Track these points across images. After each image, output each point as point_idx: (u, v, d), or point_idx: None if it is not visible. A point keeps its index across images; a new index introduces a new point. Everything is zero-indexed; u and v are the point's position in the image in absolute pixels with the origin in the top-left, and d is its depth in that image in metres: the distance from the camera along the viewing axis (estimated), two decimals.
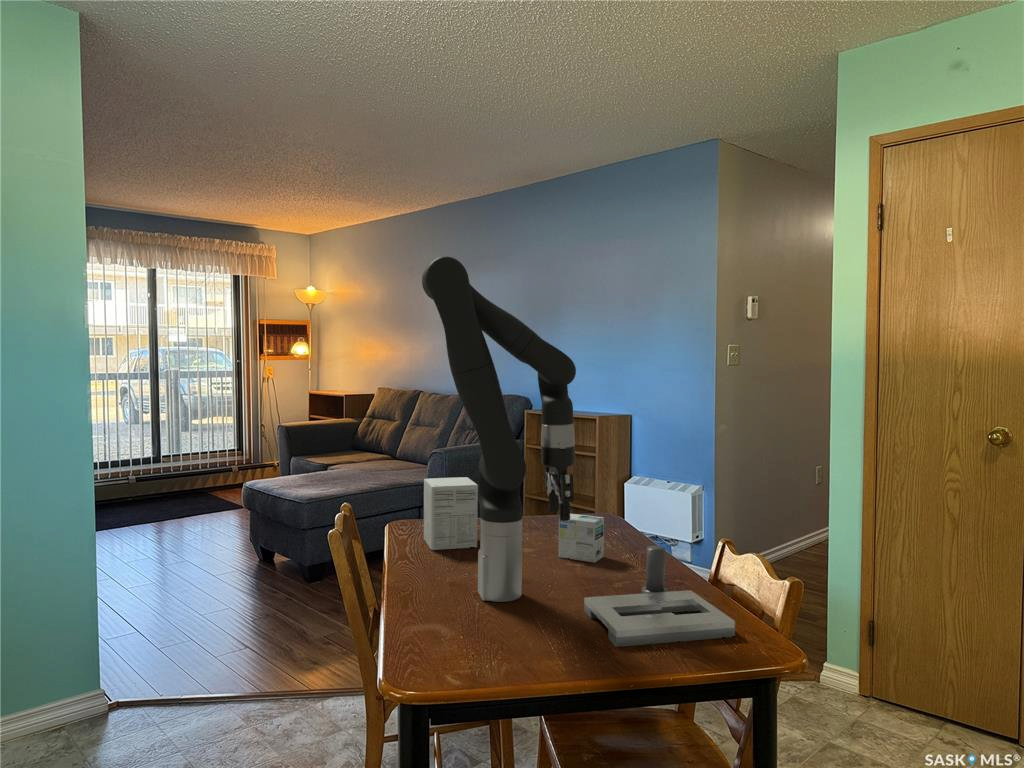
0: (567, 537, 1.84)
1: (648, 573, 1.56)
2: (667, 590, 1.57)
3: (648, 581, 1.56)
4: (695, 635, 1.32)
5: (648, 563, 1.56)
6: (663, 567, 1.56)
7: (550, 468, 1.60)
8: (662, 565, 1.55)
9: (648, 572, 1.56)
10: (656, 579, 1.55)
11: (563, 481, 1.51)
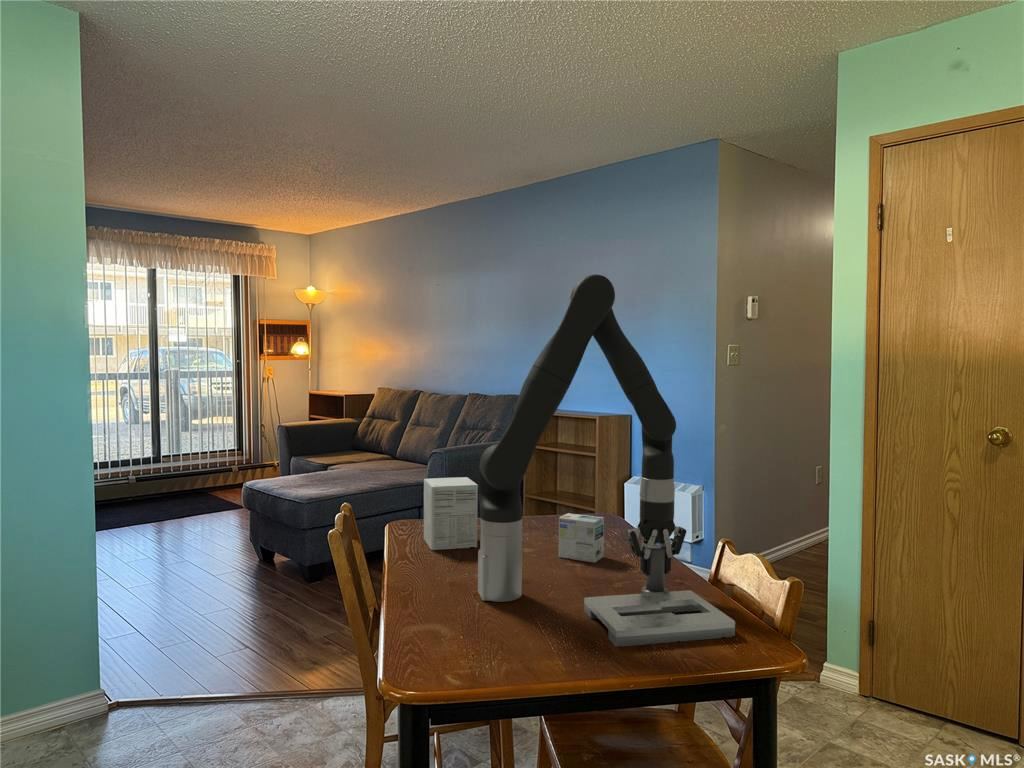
0: (567, 537, 1.84)
1: None
2: (667, 590, 1.57)
3: (648, 581, 1.56)
4: (695, 635, 1.32)
5: None
6: (663, 567, 1.56)
7: (646, 524, 1.55)
8: (662, 565, 1.55)
9: None
10: (656, 579, 1.55)
11: None
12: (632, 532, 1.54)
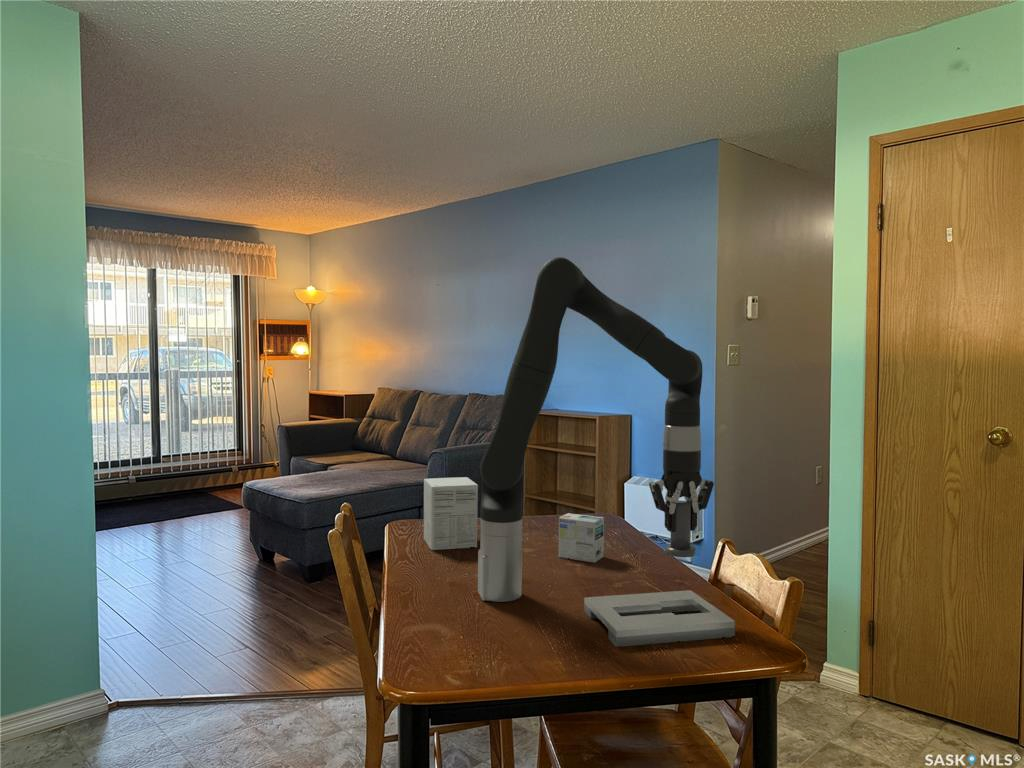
0: (567, 537, 1.84)
1: None
2: (693, 548, 1.44)
3: (673, 538, 1.44)
4: (695, 635, 1.32)
5: None
6: (689, 523, 1.43)
7: (671, 476, 1.42)
8: (688, 520, 1.43)
9: None
10: (682, 536, 1.43)
11: None
12: (656, 484, 1.42)
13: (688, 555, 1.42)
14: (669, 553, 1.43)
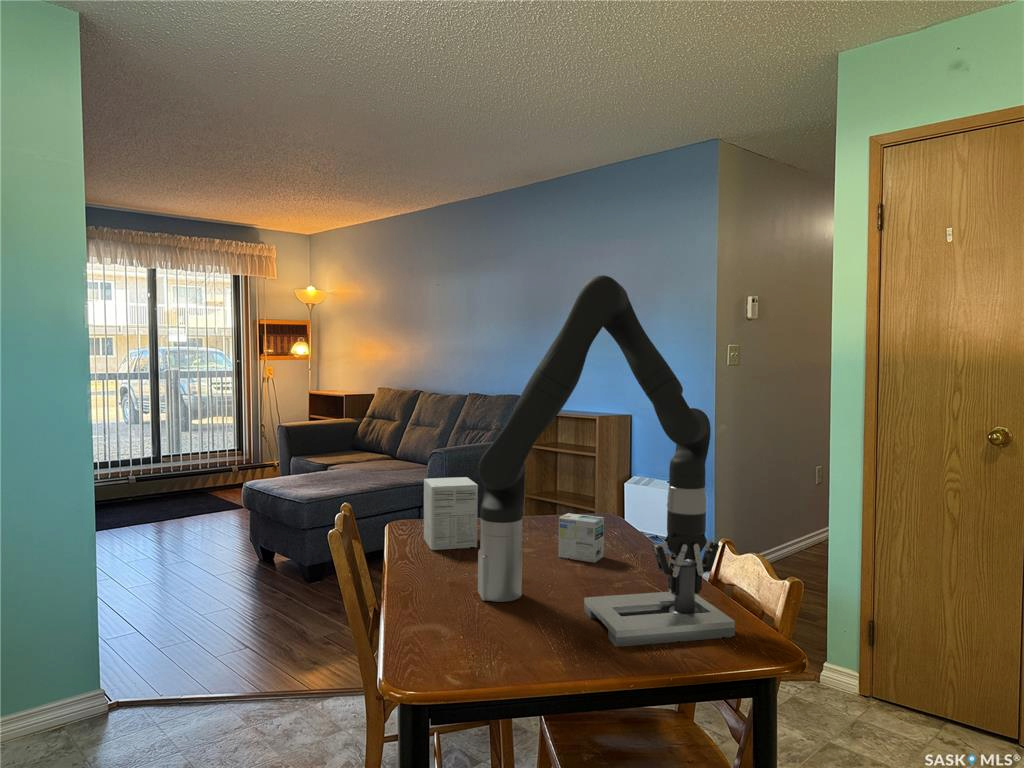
0: (567, 537, 1.84)
1: None
2: (698, 611, 1.41)
3: (677, 601, 1.40)
4: (695, 635, 1.32)
5: None
6: (693, 586, 1.40)
7: (675, 539, 1.39)
8: (692, 584, 1.40)
9: None
10: (686, 600, 1.39)
11: None
12: (659, 547, 1.38)
13: None
14: None
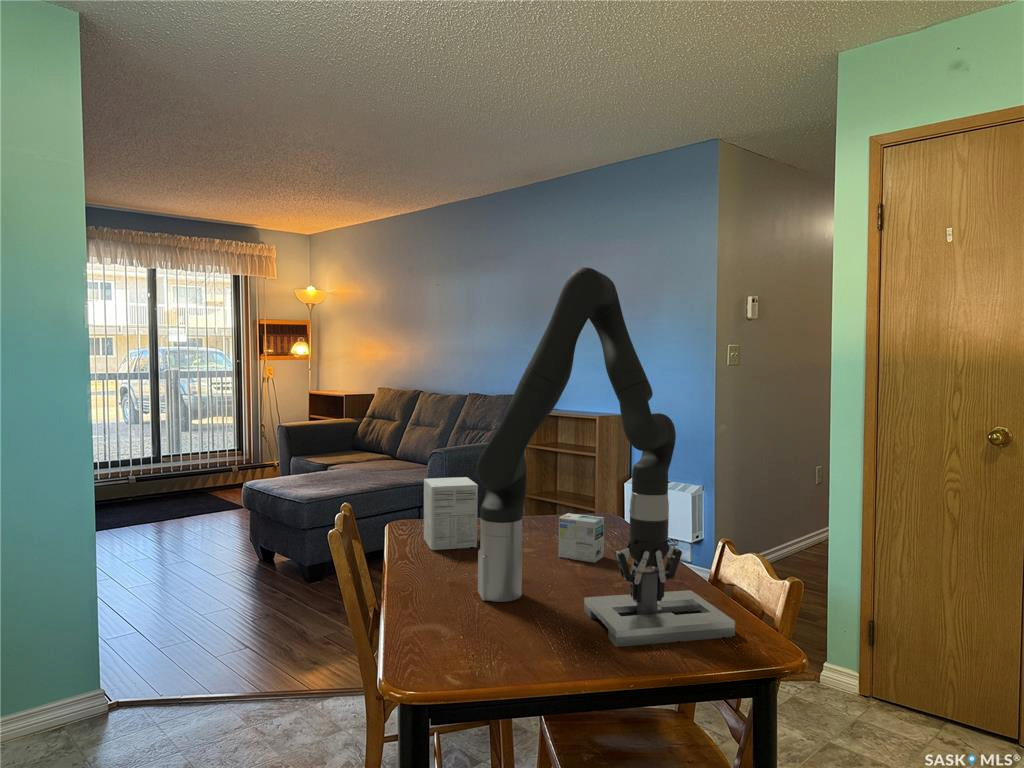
0: (567, 537, 1.84)
1: None
2: None
3: (639, 609, 1.39)
4: (695, 635, 1.32)
5: None
6: (656, 593, 1.38)
7: (637, 545, 1.38)
8: (654, 591, 1.38)
9: None
10: (648, 607, 1.38)
11: None
12: (621, 554, 1.37)
13: None
14: None
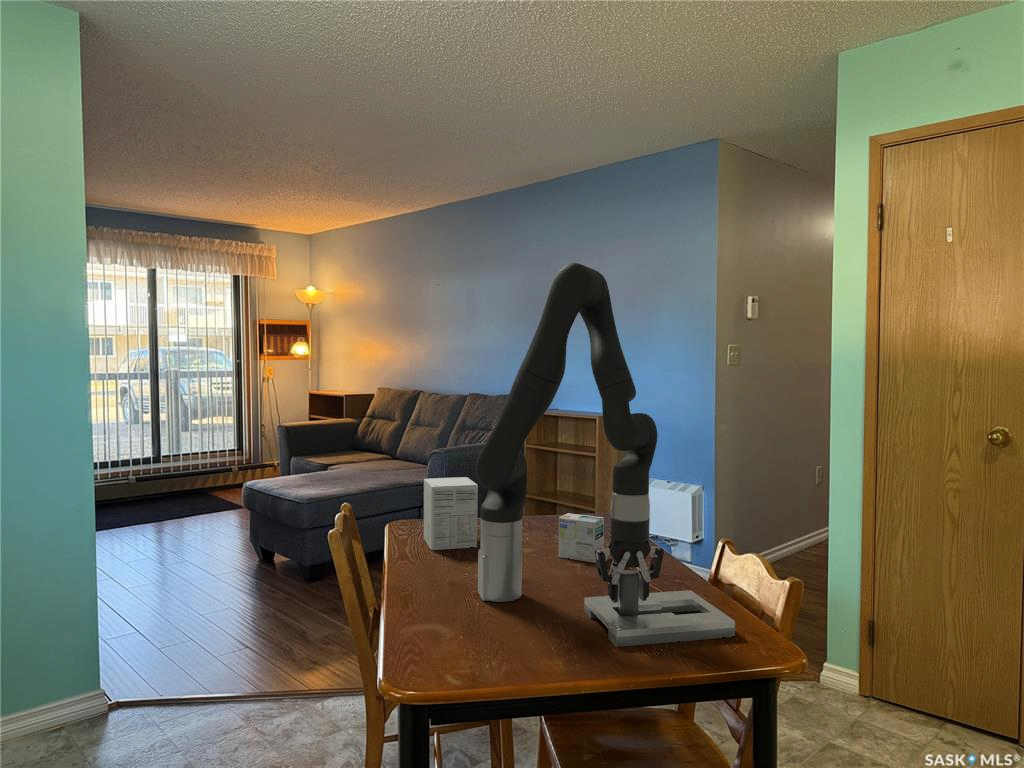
0: (567, 537, 1.84)
1: (620, 602, 1.38)
2: None
3: (620, 611, 1.38)
4: (695, 635, 1.32)
5: (620, 590, 1.38)
6: (636, 595, 1.37)
7: (618, 546, 1.36)
8: (635, 593, 1.37)
9: (620, 601, 1.38)
10: (629, 609, 1.37)
11: None
12: (601, 553, 1.36)
13: None
14: None
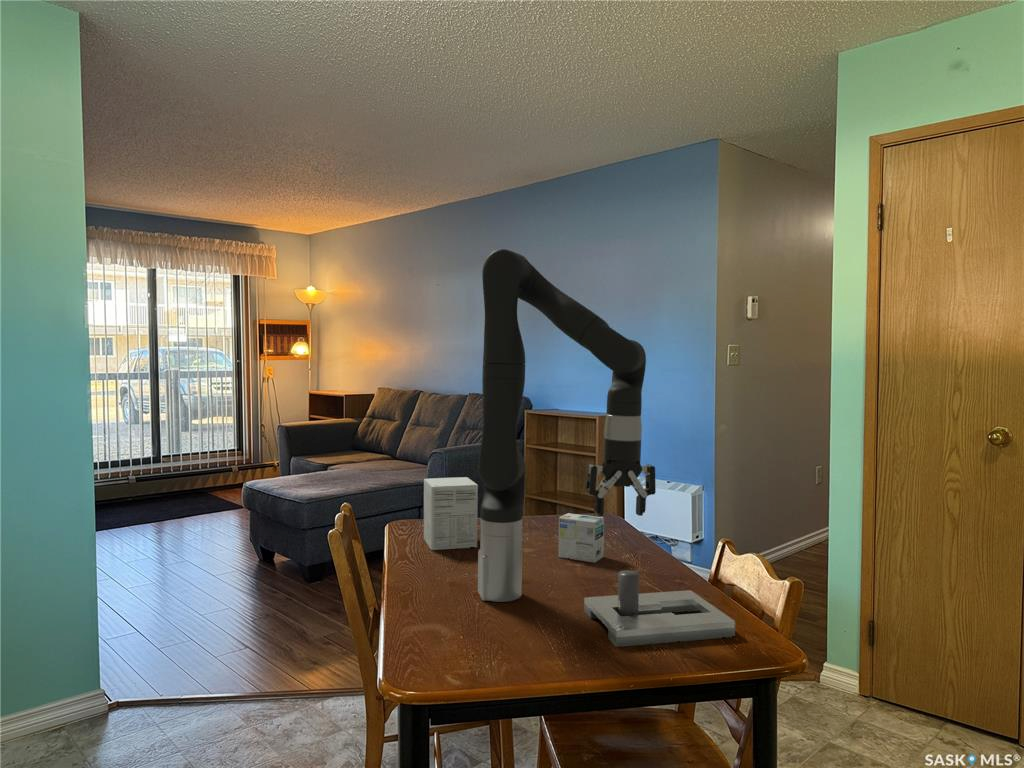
0: (567, 537, 1.84)
1: (620, 602, 1.38)
2: None
3: (620, 611, 1.38)
4: (695, 635, 1.32)
5: (620, 590, 1.38)
6: (636, 595, 1.37)
7: (611, 466, 1.43)
8: (635, 593, 1.37)
9: (620, 601, 1.38)
10: (629, 609, 1.37)
11: None
12: (594, 467, 1.42)
13: None
14: None
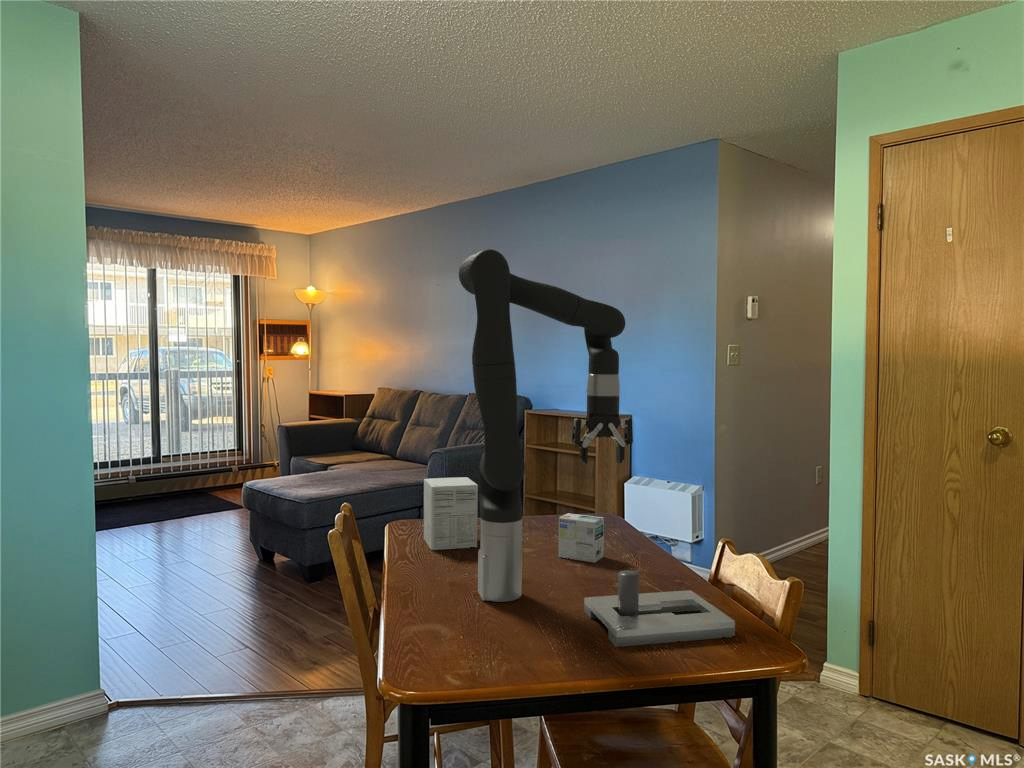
0: (567, 537, 1.84)
1: (620, 602, 1.38)
2: None
3: (620, 611, 1.38)
4: (695, 635, 1.32)
5: (620, 590, 1.38)
6: (636, 595, 1.37)
7: (594, 419, 1.63)
8: (635, 593, 1.37)
9: (620, 601, 1.38)
10: (629, 609, 1.37)
11: None
12: (578, 420, 1.62)
13: None
14: None
